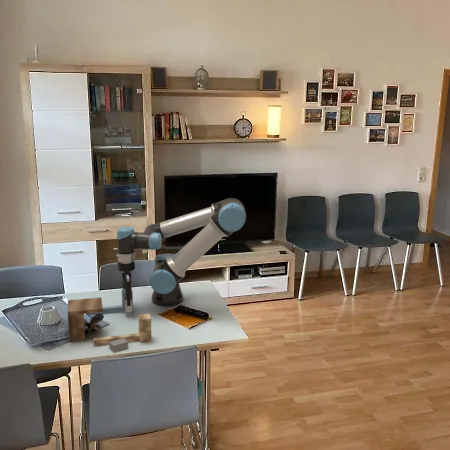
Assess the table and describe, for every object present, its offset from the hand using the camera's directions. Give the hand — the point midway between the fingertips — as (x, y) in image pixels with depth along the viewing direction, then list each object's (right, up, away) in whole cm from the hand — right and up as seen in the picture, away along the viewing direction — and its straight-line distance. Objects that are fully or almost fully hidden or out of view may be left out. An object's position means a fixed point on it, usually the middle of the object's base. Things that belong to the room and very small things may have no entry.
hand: (127, 307), depth 228 cm
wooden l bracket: (-13, -7, -23) cm, 27 cm away
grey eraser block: (+3, -11, -34) cm, 36 cm away
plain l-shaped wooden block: (+4, -9, -29) cm, 30 cm away
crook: (-8, -3, -6) cm, 10 cm away
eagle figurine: (-11, -7, -19) cm, 23 cm away
